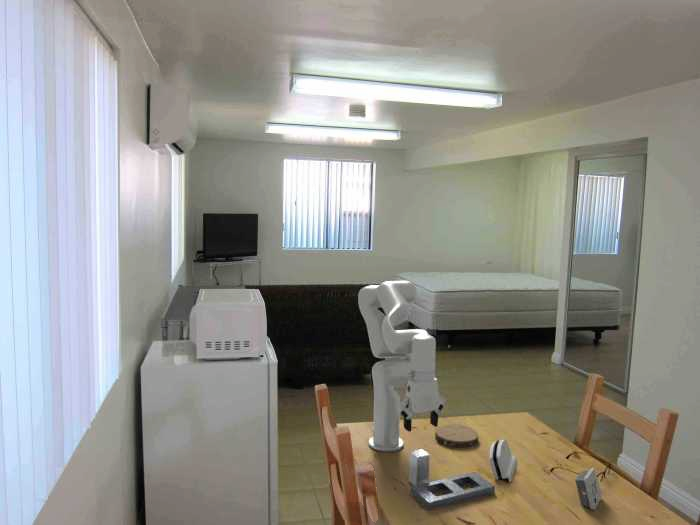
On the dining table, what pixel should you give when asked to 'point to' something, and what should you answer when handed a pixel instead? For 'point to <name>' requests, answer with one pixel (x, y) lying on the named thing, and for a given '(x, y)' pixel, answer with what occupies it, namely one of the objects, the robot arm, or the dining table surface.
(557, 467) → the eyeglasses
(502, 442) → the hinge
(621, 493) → the dining table surface
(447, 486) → the grey tray with holes
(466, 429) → the wood slice
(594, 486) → the electrical switch
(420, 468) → the steel block
